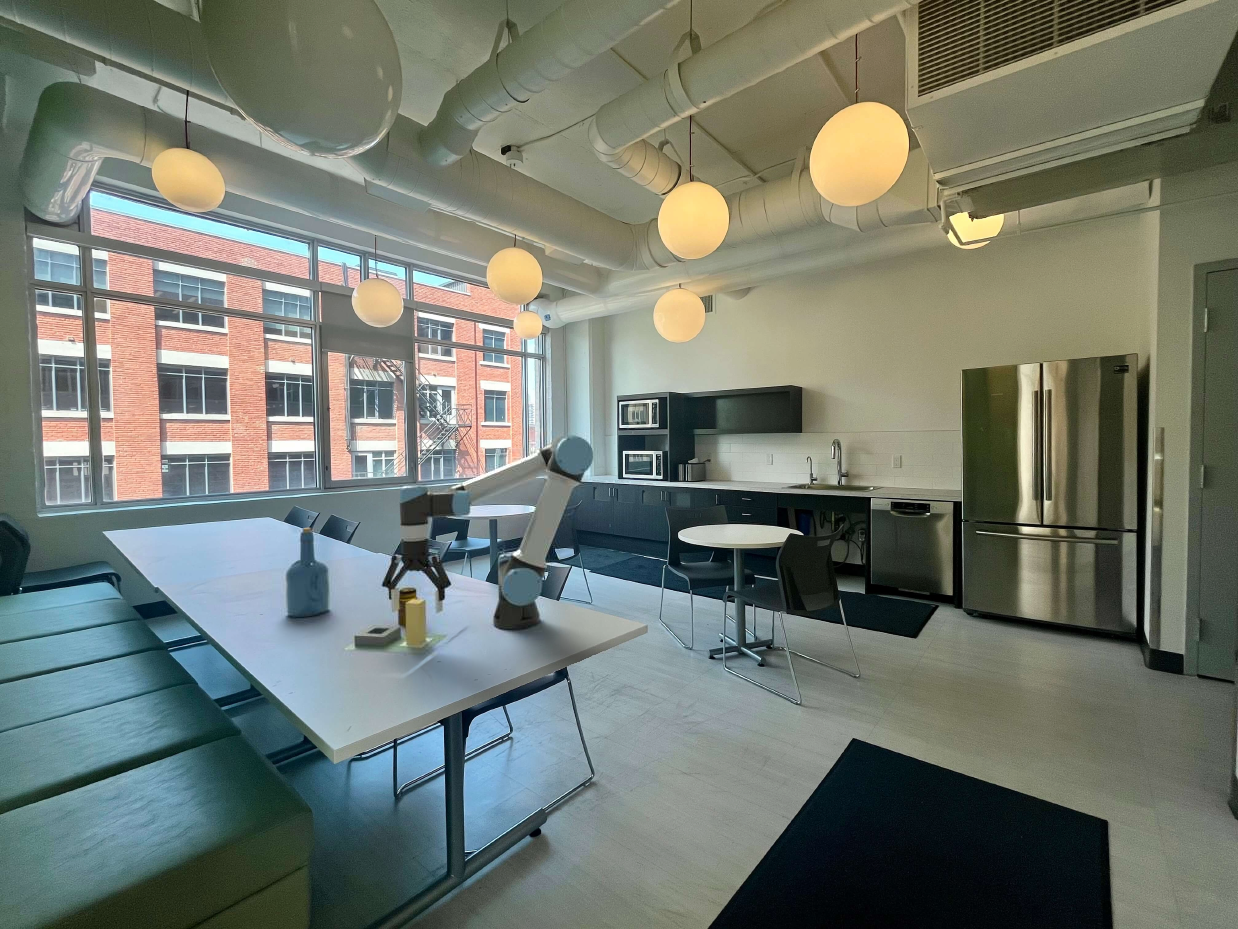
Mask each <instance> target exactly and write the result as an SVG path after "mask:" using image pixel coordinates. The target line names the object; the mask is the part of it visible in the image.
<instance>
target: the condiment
mask: <svg viewBox="0 0 1238 929" xmlns="http://www.w3.org/2000/svg"><path fill="white" fill-rule="evenodd" d="M412 599H418V596H417V589H416V588H415V587H404V588H401V589H400V588H399V610H397V616H398V617H397V620H398V621H397V623H398V625H399V626H406V603H407V602H409V601H411V600H412Z"/></svg>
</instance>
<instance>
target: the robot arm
mask: <svg viewBox="0 0 1238 929" xmlns="http://www.w3.org/2000/svg"><path fill="white" fill-rule="evenodd" d="M593 461H594V451H593V448H592V446H591V444H590V443H589V442H588V441H587V440H586V439H584V438H582V437H581V436H577V435H573V434H572V435H571V434H570V435H565V436H562V437H559V438H558V439H555V440H553V441H552V442H550V443H549V444H547V445H544V446H543V447H540V448H538V449H536V451H535V453H533V454H531V455H529V456H527V457H523V458H520V459H519V460H517V461H514V462H511V463H508V464H506V465H502V466H501V467H498V468H496V469H494V470H491V471H489V472H486V473H484V474H481V475H479V476H476V477H474V478H471V479H469V480H467V481H464V482H461V483H458V484H455V485H453V486H451V487H447V488H444V489H443V490H442V491H429V490H428V487H427V485H423V484H421V485H405V486H402V487H401V488H400V490H399V515H400V538H401V539H402V540H401V544H400V545H401V546H400V547H401V548H400V549H401V550H400V551H401V553H402V554H401V555H400V554H399V553H397V554H394V555H392V556H391V559H390V560H391V561H390V565H389V567H388V569H387V572H386V573H385V574H386V575H384V576H385V577H384V579H383V581H382V583H381V587H382V588H387V590H388V599H389V600H390V601H391V612H392V613H395V612H396V611H397V612H398V610H399V590H400V588H399V587H398V586H397V585H398V584H399V583H400V582H401V580H402V579H403V578H404V576H406V574H407V572H408V571H409V572H414V571H415V572H422V573H423V574H425V576H426V577H427V578H428V579H429V580H430V582H431V583H432V584H433V586H435V588H436V590H434V592H435V593H434V596H435V598H434V599H435V600H434V602H435V614H439V613H441V612H442V611H443V610H444V609H443V608H444V607H443V601H444V600H446V589H447V588H449V587H450V586H451V585H452V582H451V580H450V578H449V577H448V574H447V572H446V571H445V568H444V567H443V564H442V563H441V556H440V555H439V554H435V555H430V539H429V538H428V537H429V533H430V532H429V518H444V517H450V518H451V517H458V518H459V517H464V516H469V515H470V514H471V505H473V504H475V503H478V502H481V501H483V500H485V499H488V498H491V497H492V496H495V495H498V494H500V493H503V492H504V491H508V490H510V489H512V488H515V487H517V486H520V485H523V484H525V483H527V482H529V481H532V480H534V479H538V478H540V477H543V476H545V477H547V478H546V481H545V483H544V486H543V488H542V491H541V493H540V496H539V498H538V501H537V504H536V506H535V507H534V511H533V513H532V516H531V517H530V521H529V522H528V525H527V528H526V531H525V533H524V536H523V538H522V541H521V543H520V545H519V548H518V549H517V550H515V551H513V552H510V553H503V554H500V555H499V556H498V558H497V559H498V560H497V567H498V568H497V570H498V571H497V572H498V573H497V575H498V578H497V579H498V580H497V581H498V586H497V587H498V601H497V603H496V607H495V611H494V613H493V618H492V620H493V626H494V627H496V628H498V629H503V630H521V629H523V630H524V629H528V628H531V627H534V626H536V625H538V624H539V623H540V621H541V620H540V619H541V618H540V616H541V615H540V611H539V609H538V606H537V602H536V600H537V599H538V597H540V594H541V592H542V590H543V589H542V587H543V578H544V576H545V574H546V571H547V567H548V565H547V562H546V558H547V555H548V552H549V550H550V547H551V545H552V543H553V540H554V537H555V535H556V532H557V530H558V528H559V524H560V523H561V520H562V518H563V515H564V511H565V509H566V507H567V505H568V502H569V500H570V497H571V495H572V492H573V489H574V488H575V487H577V486H579V485H581V482H582V480H583V478H584V476H585V473H586V472H587V471H588V469H589V468H590V467H591V466H592V463H593ZM400 562H401V563H402V564H403V565H402V567H400V569H399V570H398V567H399V564H400ZM430 563H431V564H432V566H431V565H430ZM433 569H434V570H435V571H434V570H433ZM397 570H398V572H397V573H396V571H397ZM395 574H396V575H395ZM394 575H395V576H394Z"/></svg>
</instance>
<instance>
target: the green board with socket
mask: <svg viewBox="0 0 1238 929" xmlns="http://www.w3.org/2000/svg"><path fill="white" fill-rule="evenodd" d="M401 629H402V625H399V626H398V625H395V626H394V625H376V624H375V625H374V624H373V625H371V626H369V627H367V628H366V629H364V630H361V631H360V632H359V633H357V634H355V635H354V642H353V643H352V644H350V645H349V646H346V647H345V648H343V650H344V651H360V652H362V651H364V652H365V651H366V652H378V653H379V652H380V653H400V654H418V655H419V654H420V655H421V654H425V653H426V652H427V651H428V650H430V649H431V648H432V647H434V646H435V645H437V643H439V642H440V641H442V640H443V639H444V638H446V637H447V636H448V634H437V633H436V634H435V633H434V634H433V633H426V641H424V642H423V643H421V644H420V645H409V644H406V632H402V630H401Z"/></svg>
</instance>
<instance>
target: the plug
mask: <svg viewBox="0 0 1238 929" xmlns="http://www.w3.org/2000/svg"><path fill="white" fill-rule="evenodd" d="M426 602H427V601H426V599H412V600H411V601H409V602H407V603H406V625H405V633H406V644H409V645H420V644H421V643H423V642H424V641H426V634H427V616H426V615H427V613H426V612H427V610H426V609H427V603H426Z"/></svg>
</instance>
